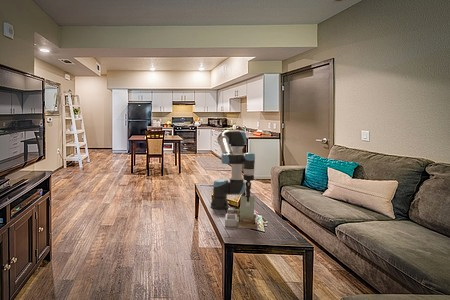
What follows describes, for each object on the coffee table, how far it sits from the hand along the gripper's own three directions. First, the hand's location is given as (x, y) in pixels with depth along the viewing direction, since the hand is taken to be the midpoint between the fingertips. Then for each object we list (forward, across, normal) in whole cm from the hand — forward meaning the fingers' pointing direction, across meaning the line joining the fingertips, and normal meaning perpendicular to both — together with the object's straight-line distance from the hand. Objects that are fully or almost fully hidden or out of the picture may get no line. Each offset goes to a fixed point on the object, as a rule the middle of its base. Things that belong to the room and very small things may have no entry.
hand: (247, 203), depth 242 cm
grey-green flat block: (+15, 0, 0) cm, 15 cm away
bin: (+15, +2, -11) cm, 19 cm away
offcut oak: (+11, +6, 0) cm, 12 cm away
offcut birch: (+15, +6, 0) cm, 16 cm away
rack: (+15, +3, 0) cm, 15 cm away
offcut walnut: (+13, +6, 0) cm, 14 cm away
